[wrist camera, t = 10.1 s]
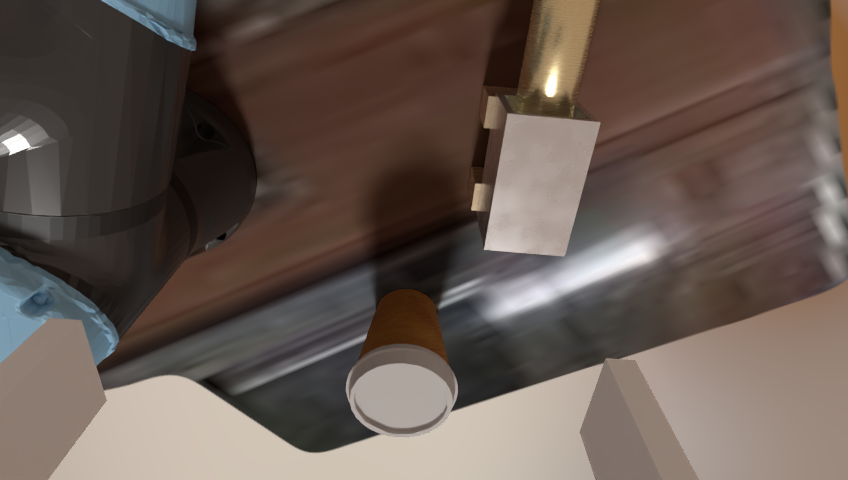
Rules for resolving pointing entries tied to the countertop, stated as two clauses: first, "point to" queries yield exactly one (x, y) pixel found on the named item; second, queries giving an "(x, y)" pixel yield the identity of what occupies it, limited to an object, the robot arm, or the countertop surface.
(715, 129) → the countertop surface
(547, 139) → the white blocky legged figure
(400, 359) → the disposable coffee cup
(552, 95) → the cylinder on square base
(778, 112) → the countertop surface
